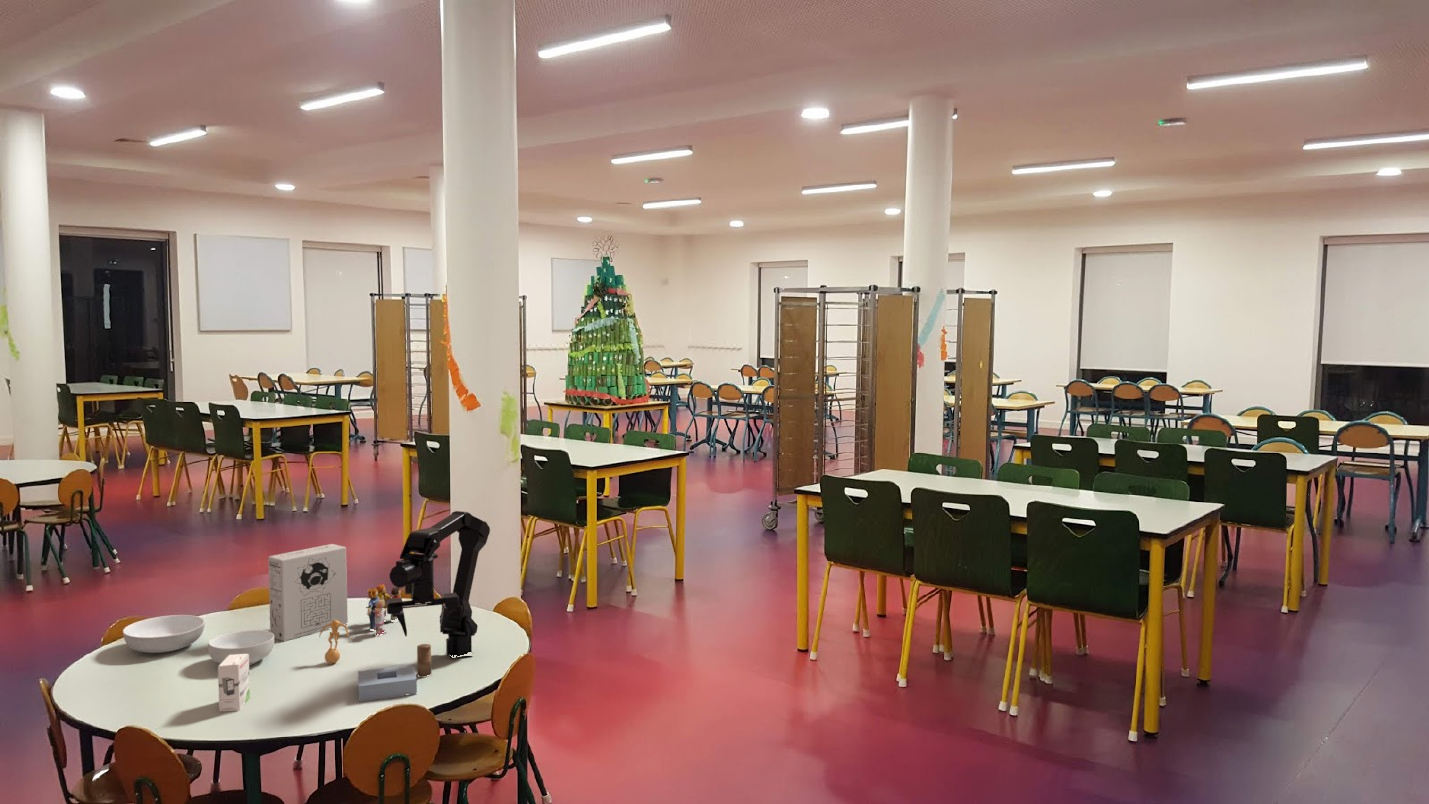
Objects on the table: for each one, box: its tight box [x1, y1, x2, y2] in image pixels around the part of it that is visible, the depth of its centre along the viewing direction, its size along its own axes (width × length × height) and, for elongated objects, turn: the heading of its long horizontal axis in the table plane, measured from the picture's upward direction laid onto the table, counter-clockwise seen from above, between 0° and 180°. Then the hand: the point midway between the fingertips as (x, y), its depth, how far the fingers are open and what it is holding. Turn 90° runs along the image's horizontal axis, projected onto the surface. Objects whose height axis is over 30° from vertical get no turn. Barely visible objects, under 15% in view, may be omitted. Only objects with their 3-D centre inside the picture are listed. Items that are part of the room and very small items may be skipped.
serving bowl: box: [122, 614, 206, 654], centre depth 279 cm, size 21×21×7 cm
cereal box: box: [267, 543, 349, 642], centre depth 295 cm, size 22×8×25 cm, turn 144°
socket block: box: [357, 664, 418, 702], centre depth 249 cm, size 14×11×4 cm
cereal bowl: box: [207, 629, 275, 667], centre depth 267 cm, size 17×17×7 cm
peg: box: [416, 643, 432, 676], centre depth 260 cm, size 4×4×8 cm
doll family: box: [365, 583, 402, 635], centre depth 299 cm, size 21×10×13 cm, turn 179°
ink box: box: [217, 654, 251, 712], centre depth 238 cm, size 9×5×12 cm, turn 10°
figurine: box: [318, 619, 350, 664], centre depth 269 cm, size 8×6×12 cm
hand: (423, 634), depth 259 cm, fingers open, 9 cm apart
